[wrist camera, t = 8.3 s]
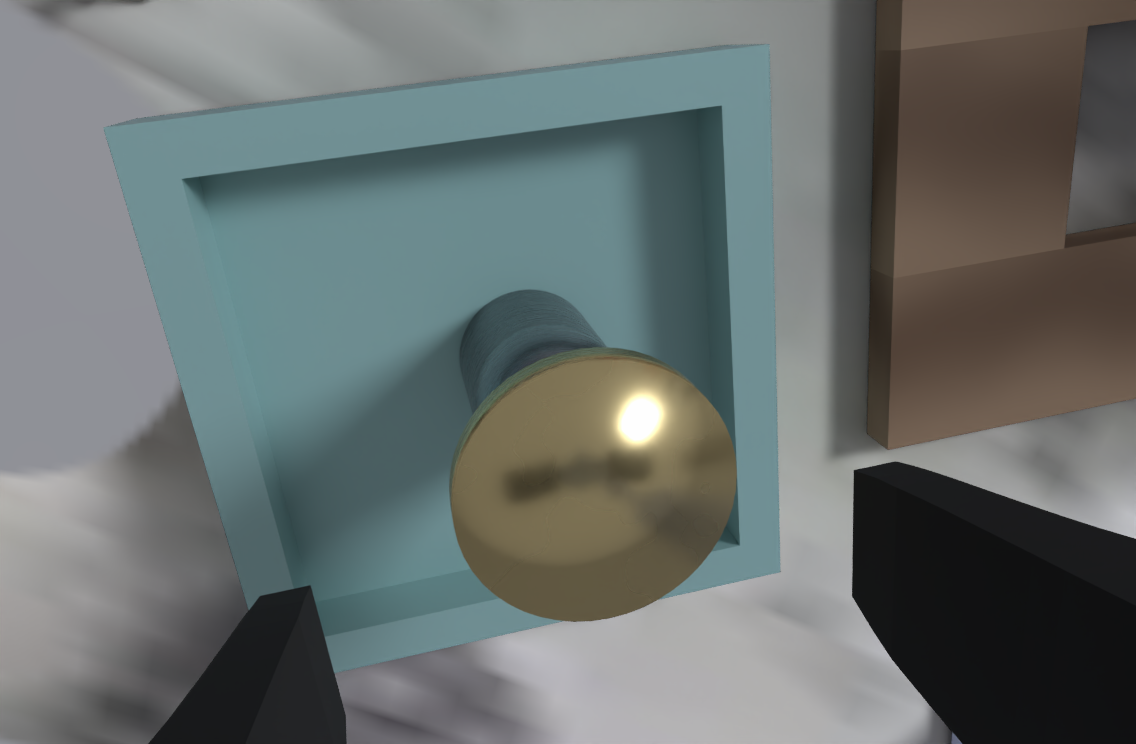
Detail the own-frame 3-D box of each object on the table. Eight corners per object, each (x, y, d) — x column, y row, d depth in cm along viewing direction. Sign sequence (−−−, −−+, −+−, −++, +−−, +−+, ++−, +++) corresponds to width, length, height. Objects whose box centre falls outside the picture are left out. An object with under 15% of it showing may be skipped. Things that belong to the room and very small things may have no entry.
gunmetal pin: (629, 428, 20) (738, 591, 14) (441, 460, 19) (472, 646, 13) (617, 245, 18) (735, 338, 12) (412, 272, 18) (432, 387, 12)
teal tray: (744, 525, 23) (780, 572, 21) (281, 625, 21) (271, 687, 19) (726, 44, 18) (769, 44, 16) (136, 118, 16) (103, 127, 14)
